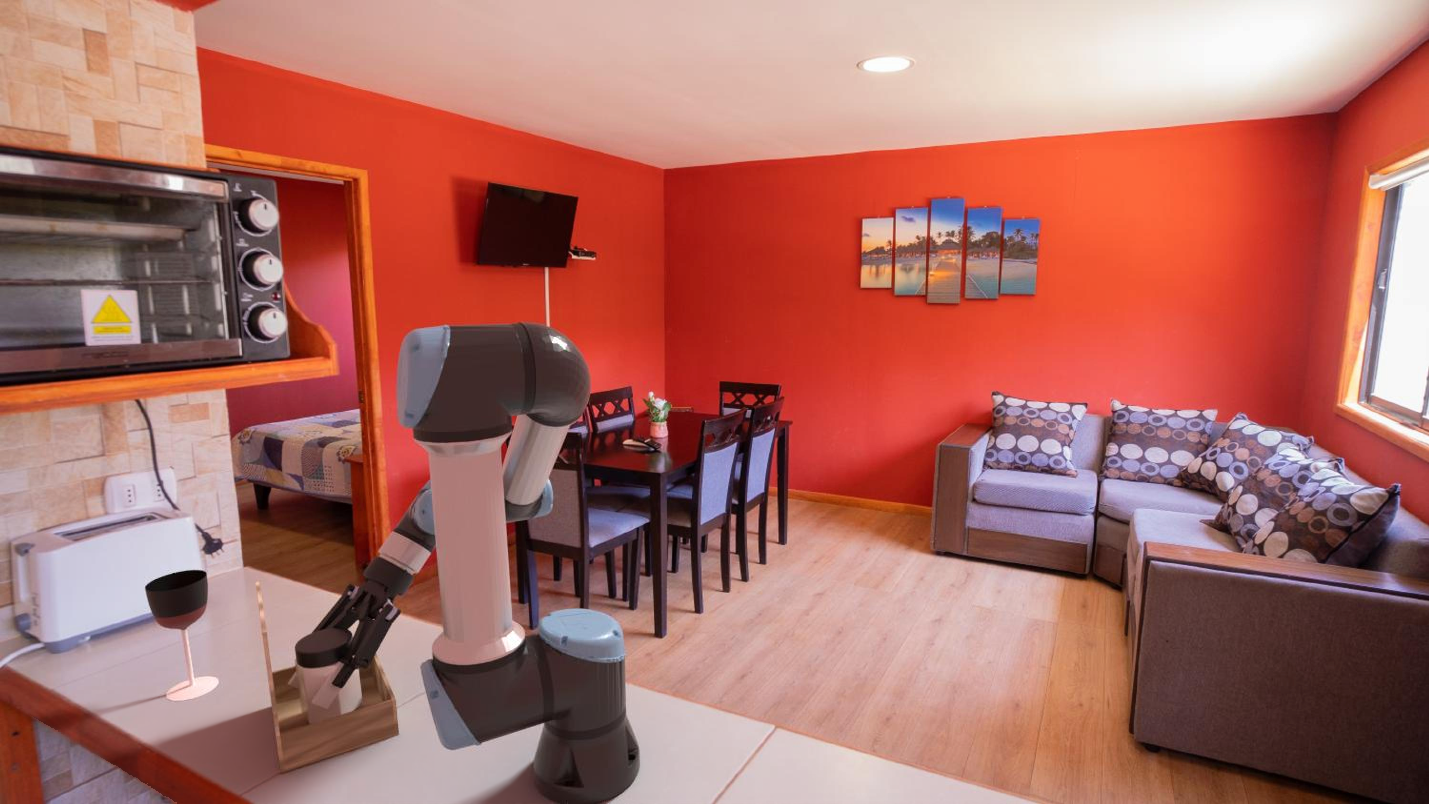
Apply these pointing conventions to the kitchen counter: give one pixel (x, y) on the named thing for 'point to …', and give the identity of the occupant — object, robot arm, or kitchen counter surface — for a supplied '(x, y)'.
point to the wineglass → (181, 620)
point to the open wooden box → (335, 734)
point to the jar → (325, 673)
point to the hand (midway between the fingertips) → (307, 695)
